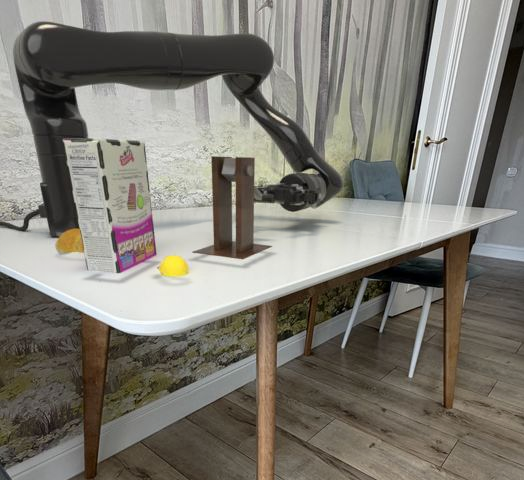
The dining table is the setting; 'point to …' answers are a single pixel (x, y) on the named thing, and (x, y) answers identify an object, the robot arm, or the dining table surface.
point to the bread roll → (69, 242)
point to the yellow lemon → (173, 266)
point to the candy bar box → (111, 202)
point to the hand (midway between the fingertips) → (270, 196)
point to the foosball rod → (230, 174)
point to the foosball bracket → (224, 211)
